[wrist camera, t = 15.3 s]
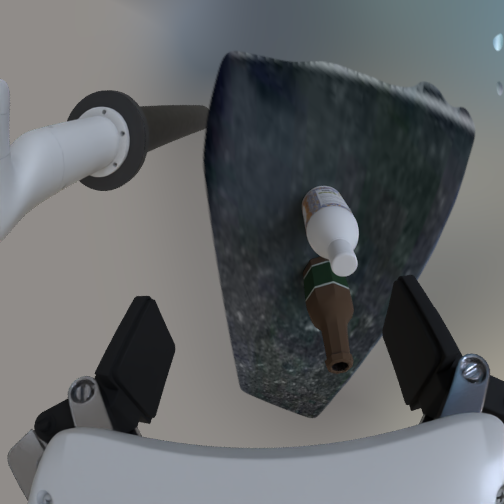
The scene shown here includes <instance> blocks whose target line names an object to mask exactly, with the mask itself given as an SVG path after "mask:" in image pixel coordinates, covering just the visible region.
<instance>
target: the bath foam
mask: <svg viewBox="0 0 504 504" xmlns="http://www.w3.org/2000/svg"><path fill="white" fill-rule="evenodd" d="M302 212H303V217H304V223H305V229H306V235H307V239H308V241H309V243H310V245H311V247H312V248H313V250H314V251H315V252H316V253H317V254H318V255H320V256H321V257H323V258H326V259H329V261H330V264H331V269H332V271H333V272H334V273H335V274H336V275H338V276H348V275H350V274H352V273H353V272H354V271H355V270H356V268H357V258H356V256H355V254H354V251H353V250H354V249H355V247H356V245H357V242H358V237H359V230H358V225H357V222H356V220H355V218H354V216H353V214H352V212H351V211H350V209H349V207H348V206H347V204H346V203H345V201H344V200H343V198H342V196H341V195H340V194H339V192H338V191H336V190H335V189H333V188H331V187H328V186H319V187H316V188H313V189H312V190H310V191H309V192H308V193H307V194H306V195H305V197H304V199H303V202H302Z"/></svg>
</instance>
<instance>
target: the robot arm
mask: <svg viewBox="0 0 504 504" xmlns="http://www.w3.org/2000/svg"><path fill="white" fill-rule="evenodd" d="M9 113H10V91H9V87H8V85H7V83H6V82H5V81H4V80H2V79H0V242H1V241H2V240H3V239H4V238H5V237H6V236H7V235H8V234H9V232H10V231H11V230H12V229H13V228H14V227H15V225H16V224H17V223H18V222H19V221H20V220H21V219H22V218H23V217H24V216H25V215H26V214H27V213H28V212H30V210H32V209H33V208H35V207H36V206H37V205H39V204H40V203H42V202H43V201H45V200H47V199H48V198H50V197H51V196H53V195H55V194H56V193H58V192H60V191H61V190H63V189H65V188H67V187H68V186H70V185H72V184H74V183H76V182H77V181H79V180H81V179H83V178H85V177H87V176H89V175H90V176H93V177H104V176H107V175H110V174H112V173H113V172H115V171H116V170H117V169H118V168H120V166H121V165H122V164H123V162H124V160H125V159H126V157H127V154H128V150H129V145H130V136H129V130H128V127H127V124H126V122H125V120H124V119H123V117H122V116H121V115H120V114H119V113H118V112H117V111H115V110H114V109H111V108H109V107H96V108H92V109H90V110H88V111H86V112H85V113H83V114H82V115H81V117H80V118H79V119H77V120H72V121H67V122H62V123H58V124H54V125H50V126H46V127H42V128H38V129H35V130H31V131H29V132H27V133H25V134H23V135H21V136H20V137H19V138H17V139H16V140H15V141H14V142H13V143H12V144H11V145H10V141H9V115H10V114H9ZM124 133H125V134H124ZM116 163H117V164H116ZM382 333H383V339H384V341H385V344H386V347H387V349H388V352H389V355H390V358H391V361H392V364H393V366H394V370H395V372H396V375H397V379H398V381H399V385H400V388H401V391H402V394H403V398H404V401H405V403H406V405H410V409H411V411H413V410H416V409H419V408H421V409H422V412H423V417H422V419H421V421H420V423H419V424H418V425H415V426H412V427H408V428H404V429H401V430H397V431H392V432H388V433H384V434H379V435H375V436H370V437H366V438H360V439H355V440H349V441H343V442H336V443H329V444H320V445H311V446H299V447H283V448H230V447H214V446H213V447H212V446H202V445H201V446H200V445H192V444H184V443H176V442H169V441H164V440H158V439H152V438H146V437H142V435H141V434H140V431H139V430H138V427H137V426H138V422H143V423H148V424H150V423H151V419H152V418H154V417H155V416H156V413H157V409H158V406H159V403H160V399H161V396H162V392H163V389H164V385H165V382H166V379H167V376H168V372H169V369H170V366H171V363H172V359H173V356H174V353H175V344H174V342H173V339H172V337H171V335H170V333H169V331H168V329H167V326H166V324H165V322H164V320H163V318H162V315H161V313H160V311H159V308H158V306H157V304H156V302H155V300H153V299H151V297H150V296H137V297H135V298H134V300H133V302H132V303H131V305H130V307H129V309H128V310H127V313H126V314H125V316H124V318H123V319H122V321H121V323H120V325H119V327H118V329H117V330H116V332H115V334H114V336H113V338H112V340H111V342H110V344H109V346H108V348H107V350H106V351H105V354H104V355H103V357H102V359H101V361H100V364H99V365H98V367H97V370H96V372H95V374H96V376H95V378H92V377H90V376H83V377H80V378H78V379H77V380H75V381H74V382H73V383H72V384H71V386H70V388H69V391H68V399H66V400H65V401H63V402H61V403H59V404H57V405H55V406H53V407H51V408H50V409H48V410H46V411H44V412H42V413H41V414H40V415H39V416H38V417H37V419H36V421H35V425H34V428H35V430H32V429H31V430H30V431H29V432H28V433H27V434H26V435H25V436H24V437H23V438H22V439H21V440H20V441H19V442H18V443H17V444H16V445H15V446H14V447H13V448H12V449H11V450H10V451H9V453H8V464H9V466H10V468H11V470H12V472H13V475H14V476H15V479H16V480H17V482H18V484H19V486H20V488H21V490H22V491H23V493H24V495H25V497H26V498H27V500H28V504H504V381H502V380H500V379H498V378H495V377H493V376H491V375H490V369H489V366H488V364H487V362H486V361H485V360H484V359H483V358H482V357H481V356H479V355H477V354H466V355H464V356H462V354H461V352H460V351H459V349H458V347H457V345H456V343H455V341H454V339H453V337H452V336H451V334H450V332H449V330H448V329H447V327H446V325H445V323H444V322H443V320H442V318H441V317H440V315H439V313H438V312H437V310H436V309H435V307H434V306H433V305H432V303H431V301H430V300H429V298H428V296H427V295H426V293H425V292H424V290H423V289H422V287H421V286H420V284H419V283H418V281H417V280H416V278H415V277H414V276H413V275H407V276H400V277H399V278H398V280H397V281H395V282H394V284H393V289H392V294H391V298H390V303H389V307H388V311H387V315H386V319H385V323H384V327H383V332H382Z"/></svg>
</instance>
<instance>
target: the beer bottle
mask: <svg viewBox="0 0 504 504" xmlns="http://www.w3.org/2000/svg"><path fill="white" fill-rule="evenodd" d="M303 278H304V289H305V301H306V306H307V310H308V313H309V316H310V318H311V321H312V323H313V324H314V326H315V327H316V328H318V329H319V330H321V331H322V336H323V341H324V346H325V351H326V356H327V360H326V361H325V363H326V366H327V368H328V371H329V372H332V373H336V374H339V373H343V372H346V371H348V370H349V369H350V368H351V367H352V365H353V358H352V354H350V350H349V342H348V334H347V324H348V322H349V321H350V319H351V318H352V315H353V311H354V309H353V303H352V299H351V295H350V291H349V287H348V284H347V281H346V277H345V276H338V275H336V274H335V273H334V272H333V271H332V269H331V264H330V261H329V259H326V258H323V257H321V256H320V257H317V258H314V259H311V260H310V262H309V263H308V265H307V267H306V268H305V270H304V272H303Z"/></svg>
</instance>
